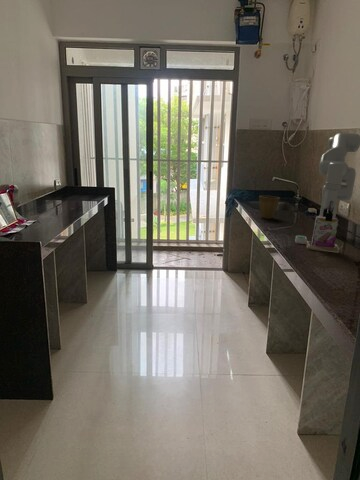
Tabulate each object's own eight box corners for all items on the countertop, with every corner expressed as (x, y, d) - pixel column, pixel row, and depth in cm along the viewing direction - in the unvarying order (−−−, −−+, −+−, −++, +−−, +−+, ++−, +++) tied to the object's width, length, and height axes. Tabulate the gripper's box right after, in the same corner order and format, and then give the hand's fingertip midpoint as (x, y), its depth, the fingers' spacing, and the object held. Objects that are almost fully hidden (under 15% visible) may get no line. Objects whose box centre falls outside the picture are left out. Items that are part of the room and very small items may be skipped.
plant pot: (277, 220, 261) (280, 198, 257) (257, 218, 263) (259, 197, 259) (275, 216, 275) (278, 196, 271) (256, 214, 277) (258, 194, 273)
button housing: (295, 240, 207) (295, 235, 206) (305, 241, 206) (305, 236, 205) (295, 243, 202) (296, 237, 201) (306, 244, 201) (306, 239, 200)
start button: (297, 239, 206) (297, 235, 205) (303, 240, 205) (304, 236, 204) (297, 241, 202) (298, 236, 202) (304, 242, 202) (305, 237, 201)
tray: (305, 244, 200) (306, 240, 200) (335, 248, 197) (336, 244, 196) (307, 249, 191) (308, 245, 191) (338, 252, 188) (339, 248, 187)
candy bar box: (311, 247, 193) (316, 217, 189) (310, 244, 198) (315, 215, 193) (333, 249, 190) (339, 219, 186) (332, 247, 195) (337, 218, 191)
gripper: (322, 184, 194) (317, 214, 199) (327, 188, 178) (321, 221, 183) (337, 185, 192) (331, 216, 197) (343, 189, 176) (337, 223, 181)
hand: (327, 218), depth 190 cm, fingers open, 9 cm apart
